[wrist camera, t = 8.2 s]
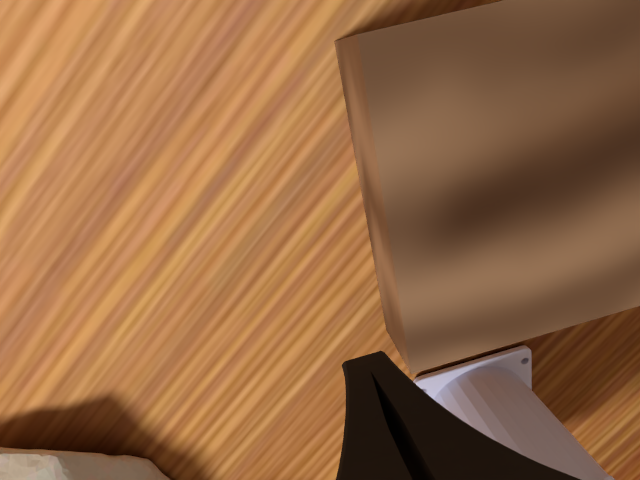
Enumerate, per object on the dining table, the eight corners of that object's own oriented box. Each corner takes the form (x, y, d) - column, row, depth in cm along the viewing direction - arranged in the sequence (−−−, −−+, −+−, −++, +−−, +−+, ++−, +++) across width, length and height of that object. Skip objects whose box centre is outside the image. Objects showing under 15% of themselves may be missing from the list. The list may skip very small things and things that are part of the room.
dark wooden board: (599, 268, 26) (657, 300, 22) (386, 329, 25) (411, 373, 21) (620, -26, 20) (706, -47, 16) (334, 41, 19) (357, 34, 15)
